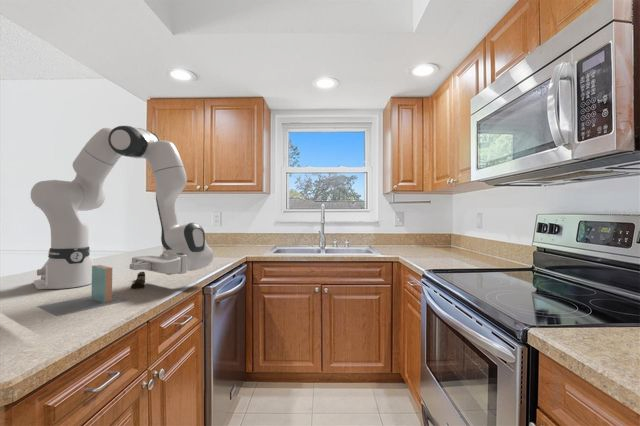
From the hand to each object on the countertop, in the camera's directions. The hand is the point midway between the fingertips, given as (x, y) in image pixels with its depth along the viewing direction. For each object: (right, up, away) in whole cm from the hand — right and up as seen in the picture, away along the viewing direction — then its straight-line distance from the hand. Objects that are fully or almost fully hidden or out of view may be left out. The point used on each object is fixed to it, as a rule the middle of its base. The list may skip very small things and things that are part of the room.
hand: (131, 267), depth 101 cm
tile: (-5, -9, -6) cm, 12 cm away
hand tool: (-7, -11, +16) cm, 21 cm away
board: (-8, -10, -10) cm, 16 cm away
